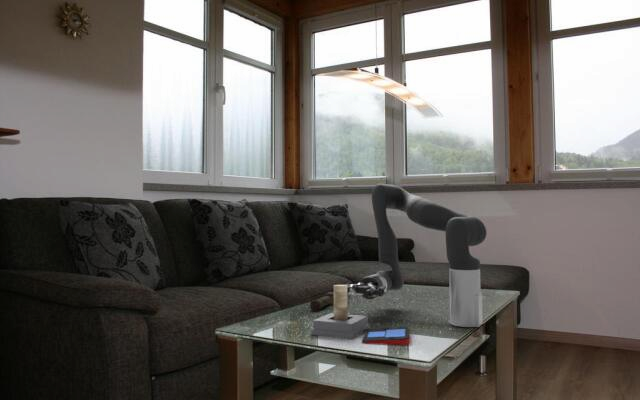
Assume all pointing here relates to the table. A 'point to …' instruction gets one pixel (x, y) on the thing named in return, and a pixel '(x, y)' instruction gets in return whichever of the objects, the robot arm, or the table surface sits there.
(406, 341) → the game console
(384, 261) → the robot arm
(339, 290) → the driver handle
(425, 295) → the table surface
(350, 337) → the tool holder
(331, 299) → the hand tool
